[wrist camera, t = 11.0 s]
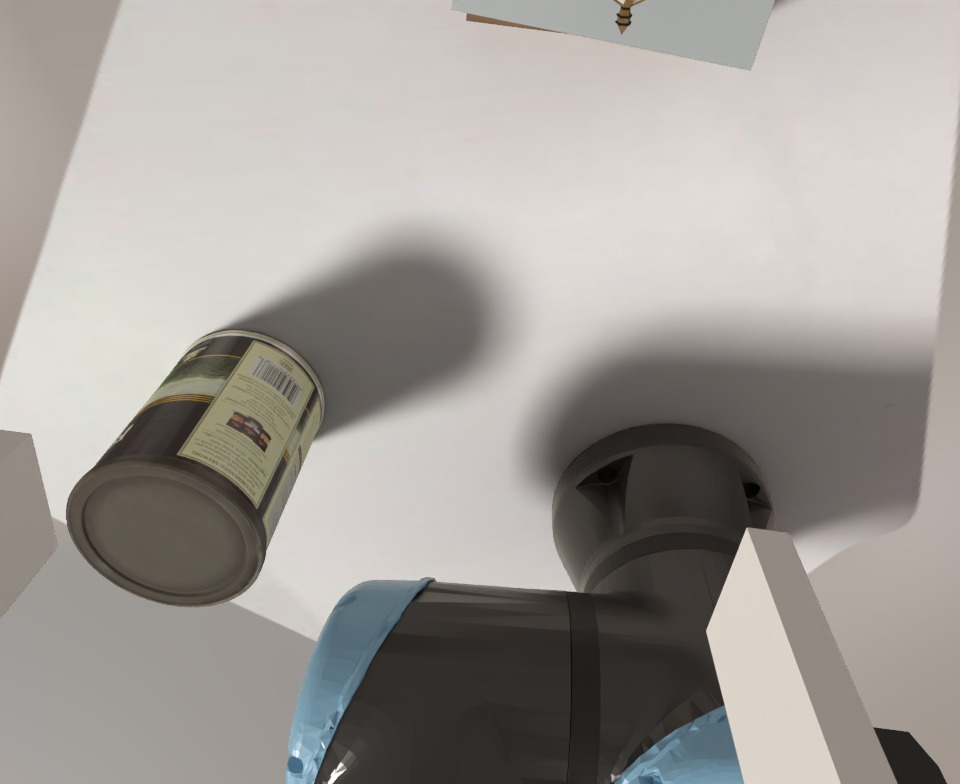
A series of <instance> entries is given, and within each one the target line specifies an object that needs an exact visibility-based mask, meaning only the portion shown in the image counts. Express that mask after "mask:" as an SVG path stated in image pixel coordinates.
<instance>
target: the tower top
mask: <svg viewBox="0 0 960 784" xmlns="http://www.w3.org/2000/svg"><path fill="white" fill-rule="evenodd" d="M774 2H775V0H645V1H643V2H641V3H639V4H637V5H634V6H632V7H631V8H630V11H631V14H632V17H631V19H630V21H631V24H630V25H629V26H628V27H627V28H626V30H625V31H624V32H623V34H622V35H621V33H620V30H619V28H618V25H617V24H616V23H615V21H616V20H617V17H618V16H617V13H619V11H620V9H621V6H620V5H619V4H618V3H616V2H615V1H614V0H453V2H452V10H454V11H459V12H464V13H469V14H474V15H479V16H484V17H489V18H494V19H498V20H503V21H508V22H513V23H518V24H523V25H528V26H533V27H538V28H543V29H548V30H553V31H557V32H562V33H567V34H572V35H577V36H582V37H587V38H592V39H597V40H602V41H607V42H611V43H616V44H621V45H626V46H631V47H636V48H641V49H646V50H651V51H656V52H661V53H666V54H670V55H675V56H680V57H685V58H690V59H695V60H700V61H705V62H710V63H715V64H720V65H725V66H729V67H734V68H739V69H744V70H749V71H751V69H752V66H753V63H754V60H755V57H756V54H757V51H758V49H759V46H760V43H761V40H762V37H763V34H764V31H765V28H766V25H767V23H768V20H769V17H770V14H771V11H772V8H773V5H774Z"/></svg>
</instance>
